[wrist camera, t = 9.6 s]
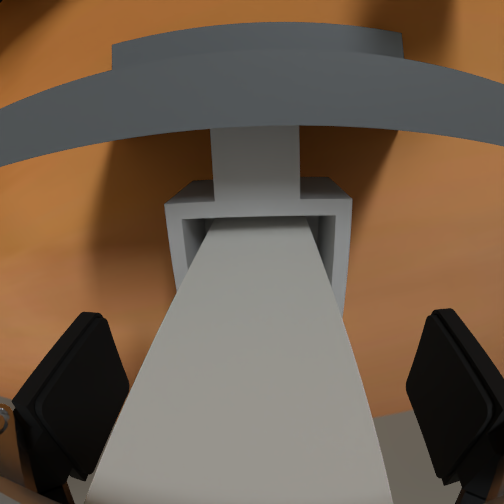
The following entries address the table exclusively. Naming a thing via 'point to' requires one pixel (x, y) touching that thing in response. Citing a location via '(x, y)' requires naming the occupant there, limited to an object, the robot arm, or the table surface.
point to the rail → (247, 385)
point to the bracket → (256, 117)
